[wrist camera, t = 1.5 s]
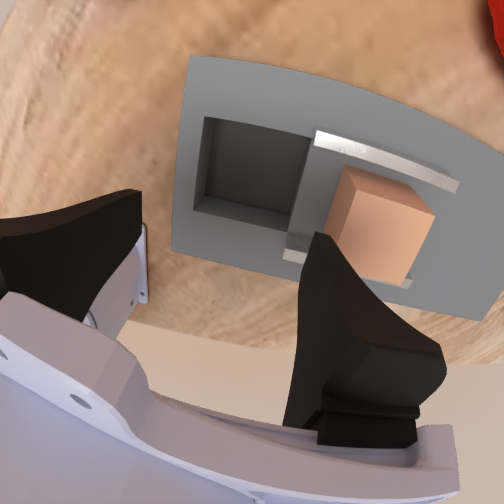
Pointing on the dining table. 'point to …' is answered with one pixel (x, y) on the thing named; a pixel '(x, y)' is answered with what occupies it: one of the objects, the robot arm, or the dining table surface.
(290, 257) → the rails
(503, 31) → the tomato
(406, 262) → the block
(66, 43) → the dining table surface
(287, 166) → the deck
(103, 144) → the dining table surface
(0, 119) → the dining table surface
